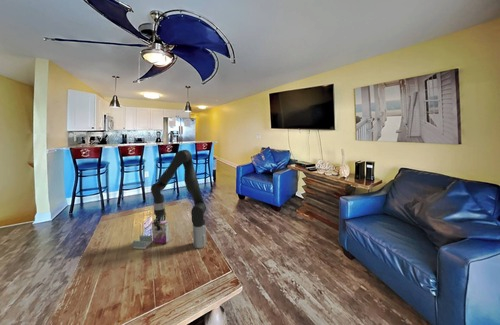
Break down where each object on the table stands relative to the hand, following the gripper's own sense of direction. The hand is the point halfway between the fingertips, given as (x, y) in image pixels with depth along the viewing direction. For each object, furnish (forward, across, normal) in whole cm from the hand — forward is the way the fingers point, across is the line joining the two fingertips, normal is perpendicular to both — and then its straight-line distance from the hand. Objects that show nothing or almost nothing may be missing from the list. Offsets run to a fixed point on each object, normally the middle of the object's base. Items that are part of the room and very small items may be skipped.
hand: (160, 228), depth 147 cm
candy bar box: (+11, 0, 0) cm, 11 cm away
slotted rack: (+12, -4, +12) cm, 18 cm away
